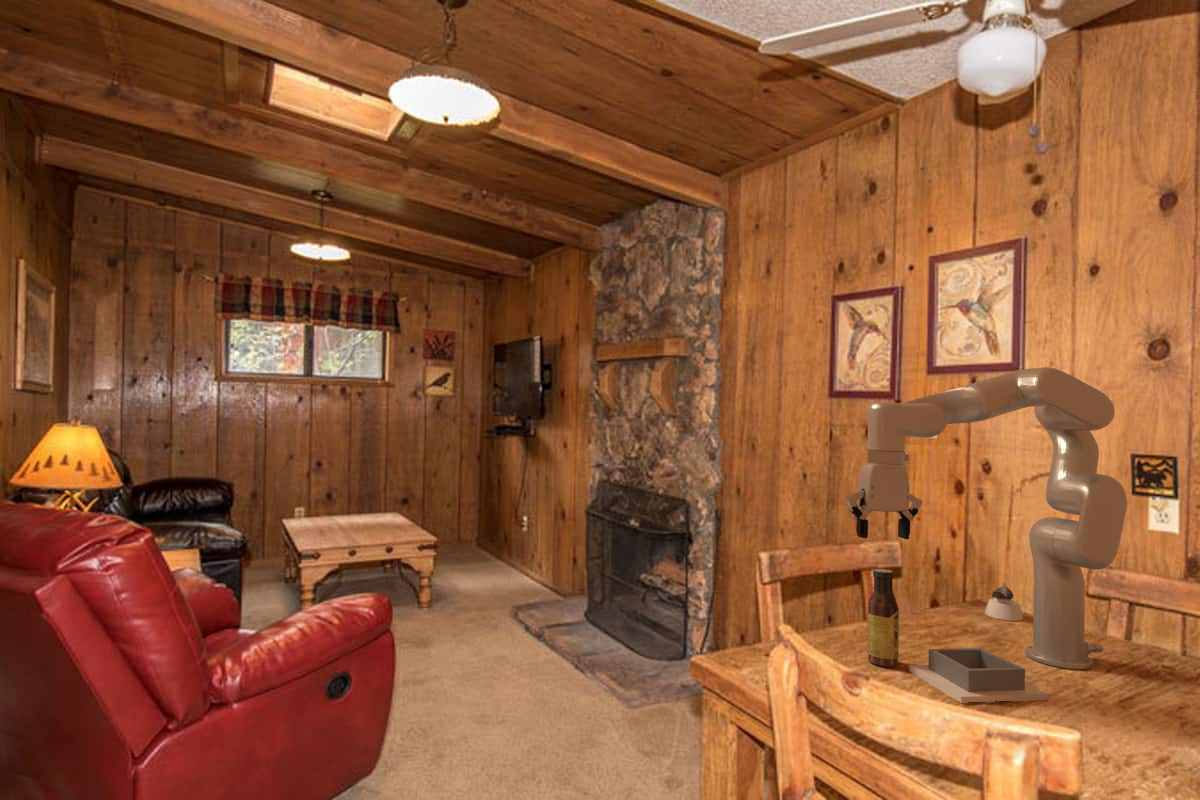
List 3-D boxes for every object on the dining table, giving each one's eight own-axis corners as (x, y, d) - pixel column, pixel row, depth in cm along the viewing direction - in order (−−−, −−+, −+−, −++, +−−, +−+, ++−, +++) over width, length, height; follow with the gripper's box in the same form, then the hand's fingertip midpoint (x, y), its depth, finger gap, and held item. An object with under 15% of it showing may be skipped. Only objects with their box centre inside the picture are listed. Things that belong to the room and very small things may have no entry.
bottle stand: (986, 668, 144) (986, 644, 144) (1046, 700, 128) (1047, 672, 128) (909, 671, 141) (909, 646, 141) (961, 703, 125) (961, 675, 125)
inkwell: (1021, 614, 187) (1021, 578, 187) (1030, 632, 171) (1030, 593, 171) (983, 609, 191) (983, 574, 191) (988, 626, 175) (988, 588, 175)
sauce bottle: (901, 669, 142) (903, 575, 142) (870, 666, 143) (871, 572, 144) (894, 659, 148) (895, 568, 149) (864, 656, 149) (866, 566, 150)
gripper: (911, 459, 152) (909, 535, 151) (839, 456, 149) (837, 534, 149) (932, 461, 144) (930, 541, 144) (857, 458, 142) (855, 540, 141)
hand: (883, 537), depth 146 cm, fingers open, 9 cm apart
